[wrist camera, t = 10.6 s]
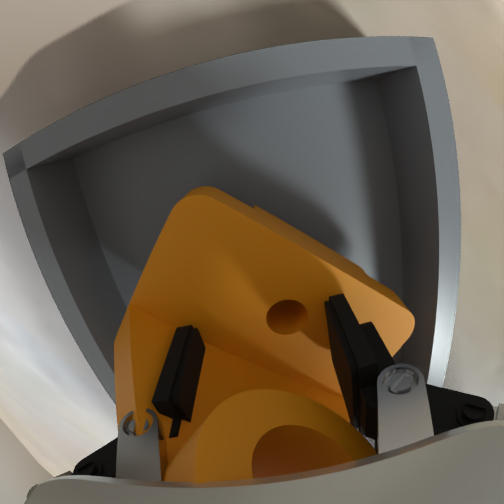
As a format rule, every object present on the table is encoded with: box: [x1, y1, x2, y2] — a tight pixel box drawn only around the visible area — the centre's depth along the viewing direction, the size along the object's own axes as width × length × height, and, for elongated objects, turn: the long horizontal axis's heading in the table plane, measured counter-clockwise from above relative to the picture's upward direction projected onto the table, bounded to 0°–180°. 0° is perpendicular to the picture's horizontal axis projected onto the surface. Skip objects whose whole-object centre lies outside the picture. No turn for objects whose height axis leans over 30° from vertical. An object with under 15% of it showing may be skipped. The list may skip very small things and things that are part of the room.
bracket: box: [114, 186, 415, 484], centre depth 9 cm, size 11×7×12 cm, turn 60°
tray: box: [3, 36, 461, 437], centre depth 15 cm, size 18×20×5 cm
